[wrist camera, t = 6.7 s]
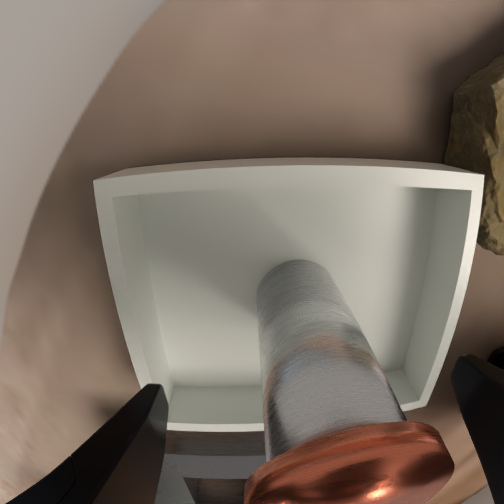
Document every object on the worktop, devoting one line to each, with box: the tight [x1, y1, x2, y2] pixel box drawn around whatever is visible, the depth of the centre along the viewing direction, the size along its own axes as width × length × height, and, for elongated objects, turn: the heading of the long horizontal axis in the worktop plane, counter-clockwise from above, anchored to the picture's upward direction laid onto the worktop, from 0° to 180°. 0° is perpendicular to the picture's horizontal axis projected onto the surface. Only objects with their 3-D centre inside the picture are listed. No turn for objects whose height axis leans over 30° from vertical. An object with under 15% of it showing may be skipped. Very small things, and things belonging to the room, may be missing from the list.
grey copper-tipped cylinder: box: [244, 260, 454, 504], centre depth 9 cm, size 4×4×9 cm
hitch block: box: [155, 430, 266, 504], centre depth 17 cm, size 12×10×3 cm
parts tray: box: [93, 157, 484, 432], centre depth 12 cm, size 13×11×3 cm
